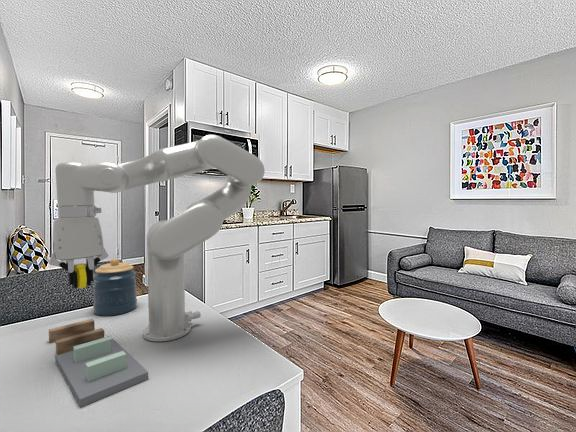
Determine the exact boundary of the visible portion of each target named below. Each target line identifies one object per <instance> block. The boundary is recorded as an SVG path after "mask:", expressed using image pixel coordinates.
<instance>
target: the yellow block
mask: <svg viewBox="0 0 576 432" xmlns="http://www.w3.org/2000/svg"><path fill="white" fill-rule="evenodd" d="M86 266H87V264H86V263H85V262H81V263H74V269H75V271H76V272H77V283H78V287H77V288H78V289H80V290H81V289H85V288H86V287H87V285H86V283H87V276H86V270H85V268H86Z"/></svg>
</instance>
